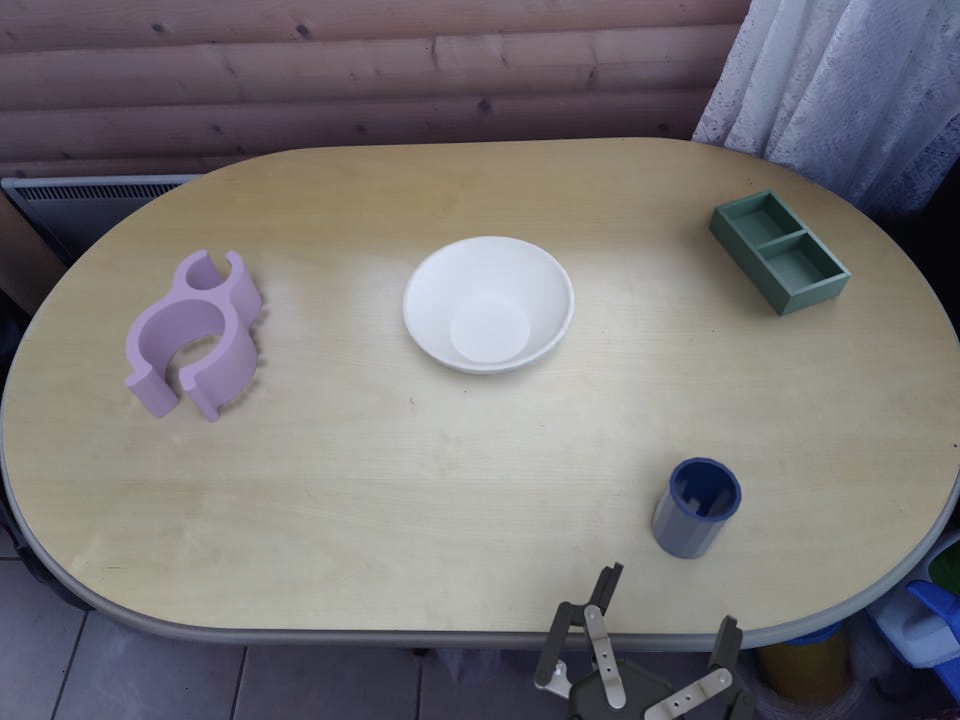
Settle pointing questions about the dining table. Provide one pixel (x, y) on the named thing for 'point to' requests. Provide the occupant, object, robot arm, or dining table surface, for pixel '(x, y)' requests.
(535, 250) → the bowl
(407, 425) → the dining table surface
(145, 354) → the clip
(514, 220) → the dining table surface
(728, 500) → the cup
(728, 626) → the robot arm
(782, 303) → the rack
